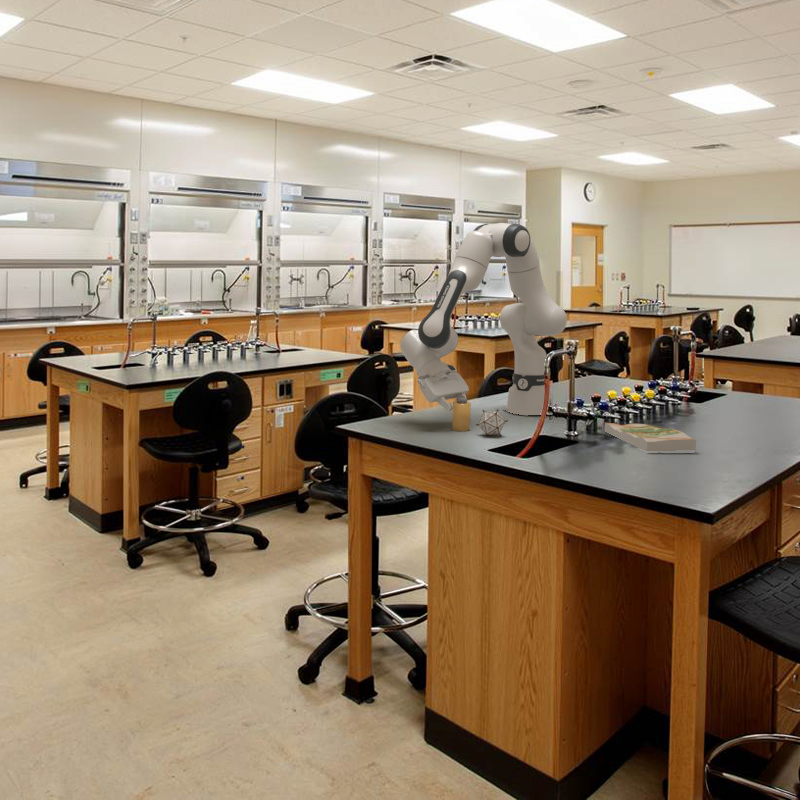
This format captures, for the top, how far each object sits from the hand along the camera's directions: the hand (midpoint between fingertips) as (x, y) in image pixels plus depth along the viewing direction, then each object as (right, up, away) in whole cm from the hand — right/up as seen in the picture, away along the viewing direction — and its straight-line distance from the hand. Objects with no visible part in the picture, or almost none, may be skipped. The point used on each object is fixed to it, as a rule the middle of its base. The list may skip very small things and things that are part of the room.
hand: (458, 408), depth 247 cm
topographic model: (+55, -11, -12) cm, 58 cm away
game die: (+9, -9, -8) cm, 15 cm away
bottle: (+1, -7, 0) cm, 7 cm away
